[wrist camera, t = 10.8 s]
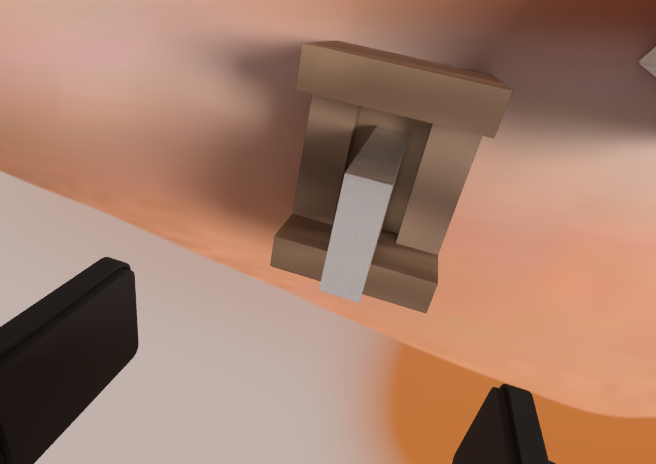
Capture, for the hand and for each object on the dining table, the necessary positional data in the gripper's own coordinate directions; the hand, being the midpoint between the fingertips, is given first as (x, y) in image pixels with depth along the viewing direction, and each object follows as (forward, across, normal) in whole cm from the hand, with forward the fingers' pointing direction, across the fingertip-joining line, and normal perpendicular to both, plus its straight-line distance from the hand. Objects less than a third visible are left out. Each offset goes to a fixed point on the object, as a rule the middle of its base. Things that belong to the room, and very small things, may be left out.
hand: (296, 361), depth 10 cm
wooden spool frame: (+21, 0, 0) cm, 21 cm away
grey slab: (+18, 0, +1) cm, 18 cm away
